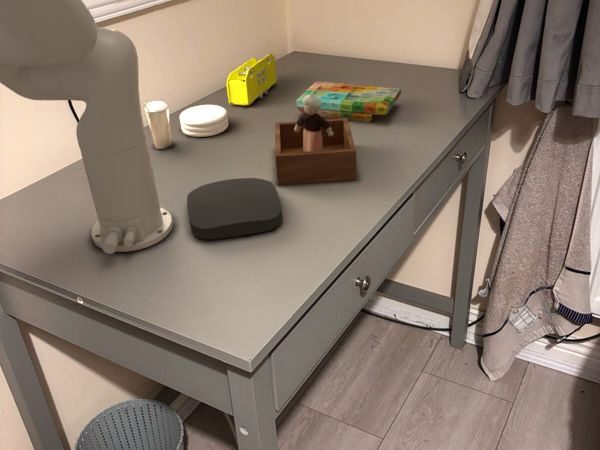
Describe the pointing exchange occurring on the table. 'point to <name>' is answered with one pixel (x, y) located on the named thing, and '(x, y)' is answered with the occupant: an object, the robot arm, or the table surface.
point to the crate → (315, 155)
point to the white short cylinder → (204, 120)
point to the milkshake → (159, 123)
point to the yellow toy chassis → (251, 80)
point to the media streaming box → (234, 208)
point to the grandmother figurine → (312, 125)
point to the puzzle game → (351, 100)
